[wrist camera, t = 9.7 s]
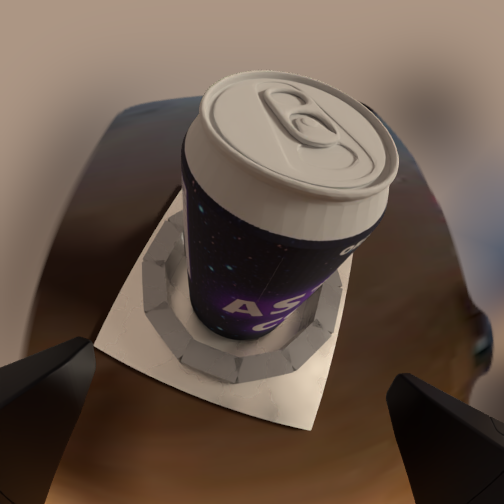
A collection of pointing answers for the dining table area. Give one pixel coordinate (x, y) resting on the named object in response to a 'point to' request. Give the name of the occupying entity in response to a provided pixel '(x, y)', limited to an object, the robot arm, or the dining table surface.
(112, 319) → the collar seat
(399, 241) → the dining table surface
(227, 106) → the beverage can
